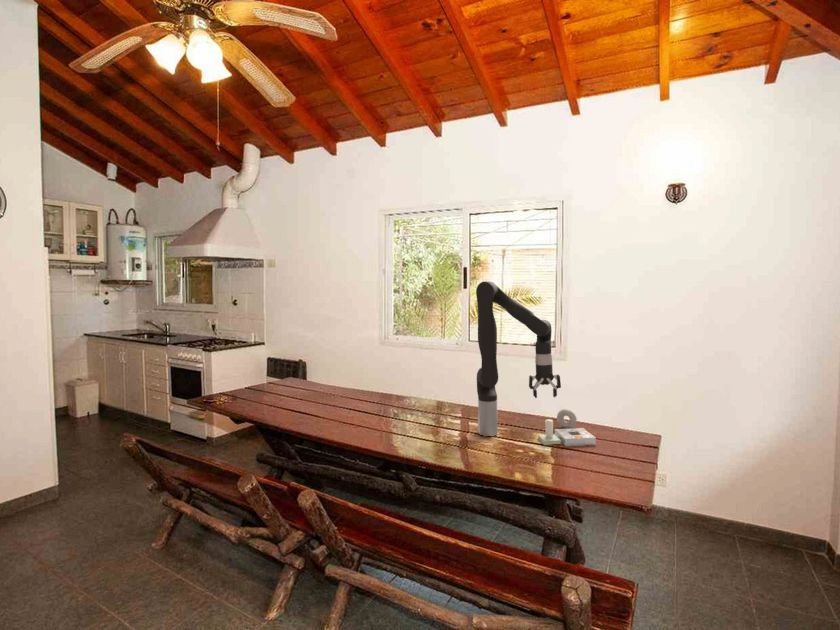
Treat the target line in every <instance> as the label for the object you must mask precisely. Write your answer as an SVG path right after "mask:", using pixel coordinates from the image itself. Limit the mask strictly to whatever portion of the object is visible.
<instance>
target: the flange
mask: <svg viewBox="0 0 840 630" xmlns="http://www.w3.org/2000/svg"><path fill="white" fill-rule="evenodd" d="M554 434H555V435H556V436H557V437H558V438H559V439H560V440H561V442H562V443H563V444H564V445H565V446H564V445H563V444H562V443H561V444H562V445H563V446H564V447H585V446H586V445H589V446H596V445H597V444H596V443H597V442H596V441H597V438H596V436H594V435H593V434H592V433H590V432H589V431H587V430H586V429H585V428H584V427H578V428H577V427H576V428H574V427H573V428H570V429H566V428H555V429H554ZM586 447H587V446H586Z"/></svg>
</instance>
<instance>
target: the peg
mask: <svg viewBox="0 0 840 630" xmlns="http://www.w3.org/2000/svg"><path fill="white" fill-rule="evenodd" d="M544 424H545V427H544V428H545V429H544V430H545V437H546V438H549V439H551V438H553V434H554V420H553V419H549V418H548V419H545V423H544Z"/></svg>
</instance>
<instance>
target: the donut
mask: <svg viewBox="0 0 840 630" xmlns="http://www.w3.org/2000/svg"><path fill="white" fill-rule="evenodd" d="M565 417H568V419H569V421H566V420H565ZM556 420H557V423H558V425H560V426H561V427H562V429H572V428H574V427H575V426H576V425H577V421H578V420H577V416H576V414H575V413H574V412H573V411H572V410H571V409H568V408H564V409H560V410H559V411H558V412H557V414H556Z"/></svg>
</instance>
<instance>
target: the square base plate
mask: <svg viewBox="0 0 840 630" xmlns="http://www.w3.org/2000/svg"><path fill="white" fill-rule="evenodd" d="M537 438H538V440H539V441H540V442H541V443H542V445H544V446H550V445H549V444H561V445H562V443H561V440H560V439H559V438H558V437H557V436H556V435H555V433H553V438H551V439H549V438H546V437H545V434H543V433H542V434H538V436H537ZM546 444H547V445H546Z"/></svg>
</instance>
